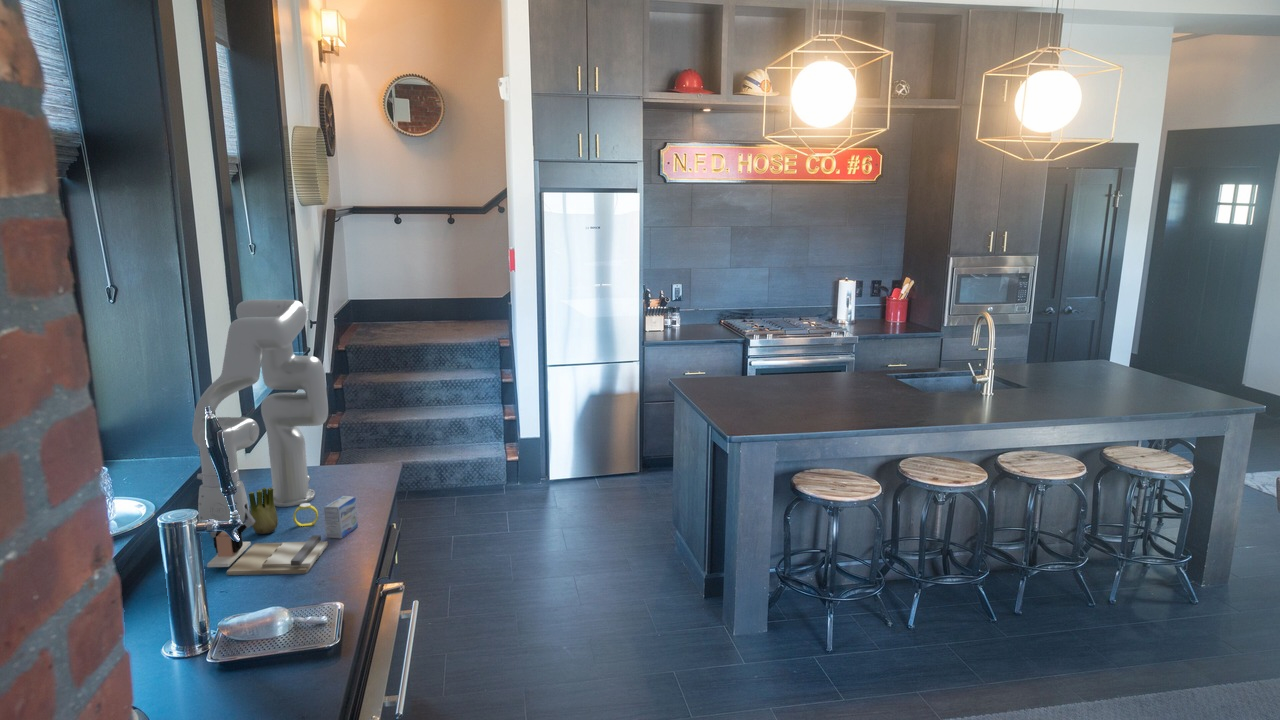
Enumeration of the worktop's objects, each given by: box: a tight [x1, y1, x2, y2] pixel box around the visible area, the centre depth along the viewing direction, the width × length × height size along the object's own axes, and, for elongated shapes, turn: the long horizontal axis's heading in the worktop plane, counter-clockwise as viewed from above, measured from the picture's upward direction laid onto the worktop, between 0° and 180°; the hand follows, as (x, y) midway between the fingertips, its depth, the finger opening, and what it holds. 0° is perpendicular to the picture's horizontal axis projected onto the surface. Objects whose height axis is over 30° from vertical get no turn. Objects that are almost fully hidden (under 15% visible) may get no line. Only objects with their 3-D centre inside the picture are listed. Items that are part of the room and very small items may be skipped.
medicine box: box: [323, 495, 359, 539], centre depth 204 cm, size 8×4×9 cm, turn 168°
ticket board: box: [226, 535, 329, 576], centre depth 189 cm, size 15×18×3 cm
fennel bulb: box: [248, 487, 279, 535], centre depth 204 cm, size 6×5×12 cm
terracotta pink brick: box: [206, 530, 252, 568], centre depth 188 cm, size 12×5×6 cm, turn 3°
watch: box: [292, 502, 319, 528], centre depth 209 cm, size 6×3×6 cm, turn 108°
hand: (229, 549), depth 188 cm, fingers closed on terracotta pink brick, 3 cm apart
